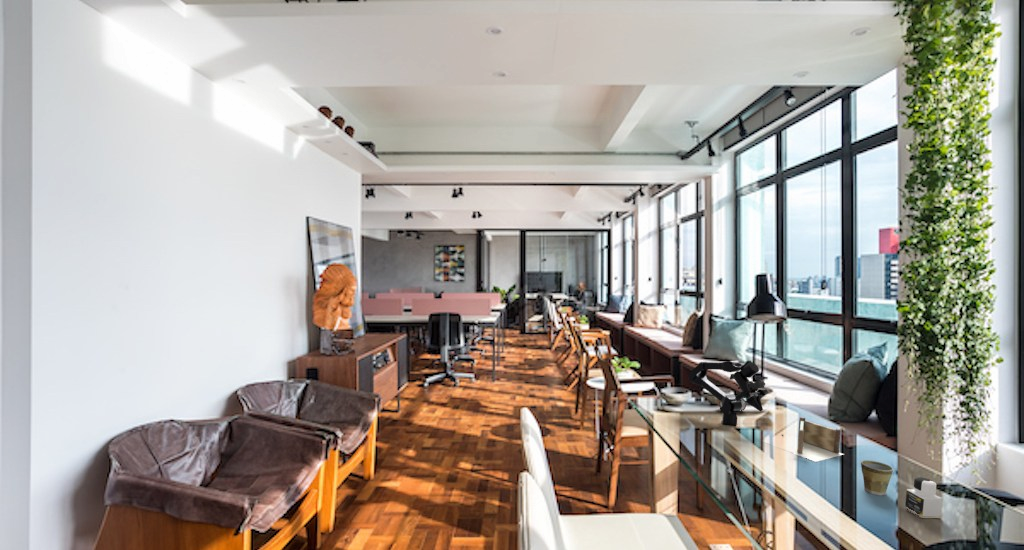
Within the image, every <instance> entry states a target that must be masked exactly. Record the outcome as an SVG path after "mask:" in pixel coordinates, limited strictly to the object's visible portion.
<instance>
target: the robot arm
mask: <svg viewBox="0 0 1024 550" xmlns="http://www.w3.org/2000/svg"><path fill="white" fill-rule="evenodd" d="M708 370H715V371H717V370H718V371H719V370H720V371H723V372H727V373H731V374H730V376H729V380H730V381H731V380H734V382H736V384H737V385H738V387H737V389H738V390H740V392H739V393H738V394H736V395H735V394H727V393H726V392H724V391H723V390H722V389H721V388H719V387H718V386H716V385H715V384H714V383H713V382H711V381H710V380H709V379H708V378H707V374H708ZM759 371H760V368H759V366H758V365H757V364H755V363H754V362H752V360H747V361H745V363H741V362H740V361H739V360H736V359H735V360H726V361H722V362H717V361H716V362H715V361H710V362H708V361H700V362H699V363H698V364H697V366H695V367H694V368H693V369H692V370H691V371H689V373H688V381H689V382H691V383H692V384H695V385H697V386H701V387H702V388H703V389H704V390H706V391H707V392H708V393H709V394H711V395H712V396H714V397H715V398H716V399H718V400H720V401H721V403H722V405H723V406H722V407H719V411H720V413H722V415H721V416H722V417H721V424H722V425H723V426H727V427H728V426H729V427H737V425H738V416H737V414H739V413H740V412H739V411H740V410H741V408H742V402H741V399H742V398H743V399H745V402H746V404H748V405H750V406H751V407H753V408H754V409H756V410H758V411H759V412H763V410H764V409H763V404H762V400H761V399H763V398H764V397H765V396H766V395H768V394H769V391H768V390H767V389H766V388H765V386H766V383H765V381H764V380H763V379H759V380H757V381H756V382H753V381H752V380H751V381H750V380H749V379H751V378H752V377H753V376H755V375H756V374H758V372H759Z"/></svg>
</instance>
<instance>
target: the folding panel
mask: <svg viewBox="0 0 1024 550" xmlns="http://www.w3.org/2000/svg"><path fill="white" fill-rule="evenodd" d="M803 424H804V421H801V424H800V430H799V429H798V433H799V435H798V434H797V436H798V437H797V438H798V449H797V452H798V453H802V451H803V438H804V430H803Z"/></svg>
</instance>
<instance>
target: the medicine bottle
mask: <svg viewBox="0 0 1024 550" xmlns="http://www.w3.org/2000/svg"><path fill="white" fill-rule="evenodd" d="M913 479H914V480H913V488H907V489H906V493H905V494H906V495H905V506H904V508H905V507H908V508H909V509H911V510H913V511H915V512H916V513H917V514H919V515H922V516H941V517H942V510H943V509H942V508H943V497H940V496H939V495H937V483H936V481H934V480H932V479H930V478H926V477H922V476H921V477H920V476H919V477H915V478H913Z"/></svg>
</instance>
